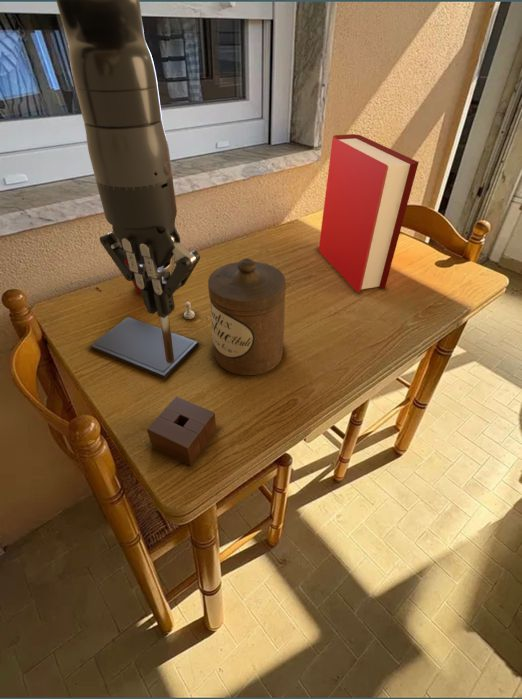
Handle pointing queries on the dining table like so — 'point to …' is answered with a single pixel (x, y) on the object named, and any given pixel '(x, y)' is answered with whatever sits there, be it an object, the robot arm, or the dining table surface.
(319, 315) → the dining table surface
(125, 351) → the plate
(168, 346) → the stylus
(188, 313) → the pawn
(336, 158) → the book
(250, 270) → the wooden container
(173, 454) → the stylus stand
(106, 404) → the dining table surface
